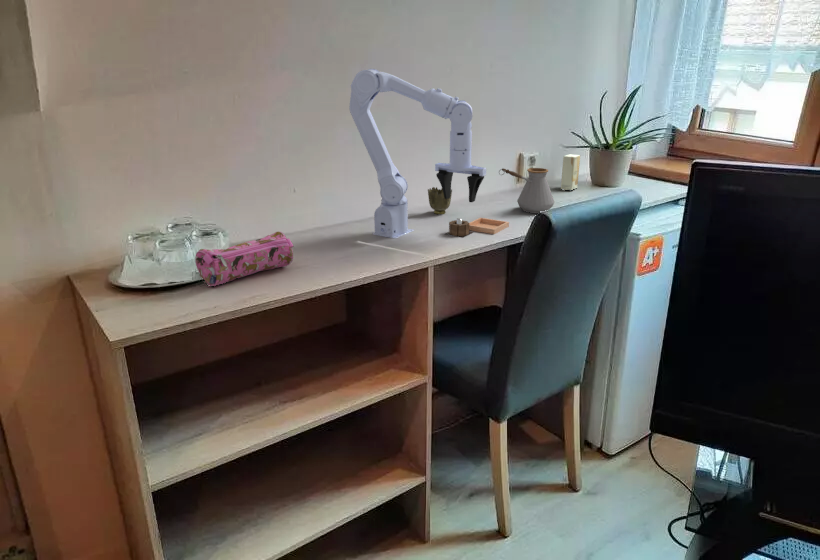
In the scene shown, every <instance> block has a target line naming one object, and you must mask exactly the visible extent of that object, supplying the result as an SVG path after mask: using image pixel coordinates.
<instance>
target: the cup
mask: <svg viewBox="0 0 820 560" xmlns="http://www.w3.org/2000/svg"><path fill="white" fill-rule="evenodd" d="M427 195H428V203H429V206H430V208H431V209H432V210H433V214H435V215H441V216H442V215H446V213H447V212H446V210H448V209H449V208H450V205H451V202H452V195H453V188H451V197H450V198H448V199H445V198H444V193H443V189H442V188H440V189H439V188H438V187H437V186H436V187H434V186H432V188H427Z"/></svg>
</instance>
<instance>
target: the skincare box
mask: <svg viewBox="0 0 820 560" xmlns="http://www.w3.org/2000/svg"><path fill="white" fill-rule="evenodd" d="M580 162H581V155H580V154H571V153H569V154H566V155H563V158H562V166H561V167H562V171H561V182H560V190H561V189H564V190H563V191H565V190H573V189H575V188H577V189H578V183H579V173H580ZM575 190H576V189H575ZM573 191H574V190H573Z"/></svg>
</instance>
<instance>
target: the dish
mask: <svg viewBox="0 0 820 560" xmlns="http://www.w3.org/2000/svg"><path fill="white" fill-rule="evenodd" d="M509 227H510V222H509V221H505V220H500V219H499V220H498V219H493V218H492V219H491V218H487V217H486V218H485V217H477V218H476V219H474V220H472V221H470V222H469V231H471V232H478V233H479V232H480V233H485V234H490V235H496V234H498V233H500V232H501V231H503V230H505V229H507V228H509Z"/></svg>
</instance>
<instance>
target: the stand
mask: <svg viewBox="0 0 820 560" xmlns="http://www.w3.org/2000/svg"><path fill="white" fill-rule="evenodd" d="M456 220H457V224H462V220H463V218H461V217H458V218H456ZM473 233H475V231H469V234H468V235H465V236H454V235H450V233H449V231H448V232H446V233H444V236H452V237H458V238H466V237H468V236H469V235H472V234H473Z"/></svg>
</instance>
